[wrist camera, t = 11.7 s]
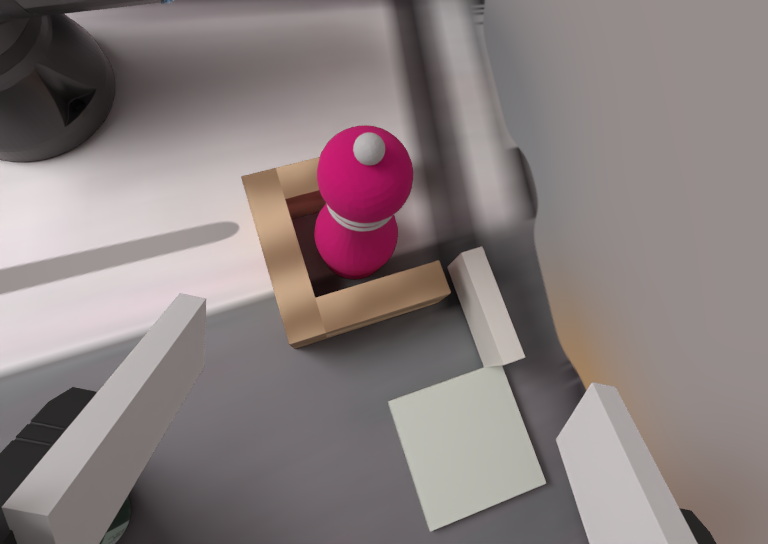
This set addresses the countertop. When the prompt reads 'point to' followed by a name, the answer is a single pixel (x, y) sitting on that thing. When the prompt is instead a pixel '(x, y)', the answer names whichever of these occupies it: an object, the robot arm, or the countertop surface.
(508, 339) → the white rectangular block
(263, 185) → the block
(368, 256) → the pepper mill
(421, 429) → the plate
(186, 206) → the countertop surface
